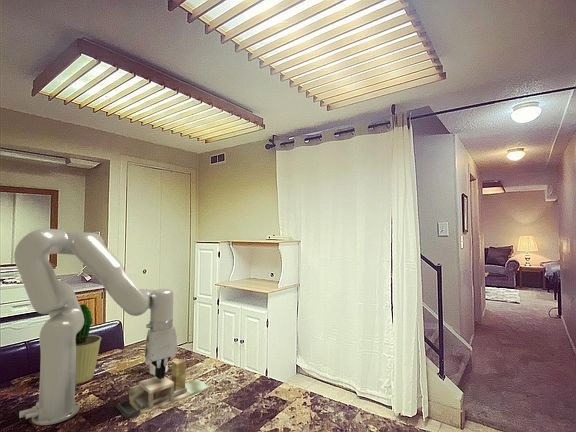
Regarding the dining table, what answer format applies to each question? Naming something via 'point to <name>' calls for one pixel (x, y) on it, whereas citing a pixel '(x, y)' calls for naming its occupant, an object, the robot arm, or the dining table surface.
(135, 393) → the tunnel
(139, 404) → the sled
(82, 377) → the potted cactus
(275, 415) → the dining table surface
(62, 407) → the robot arm
